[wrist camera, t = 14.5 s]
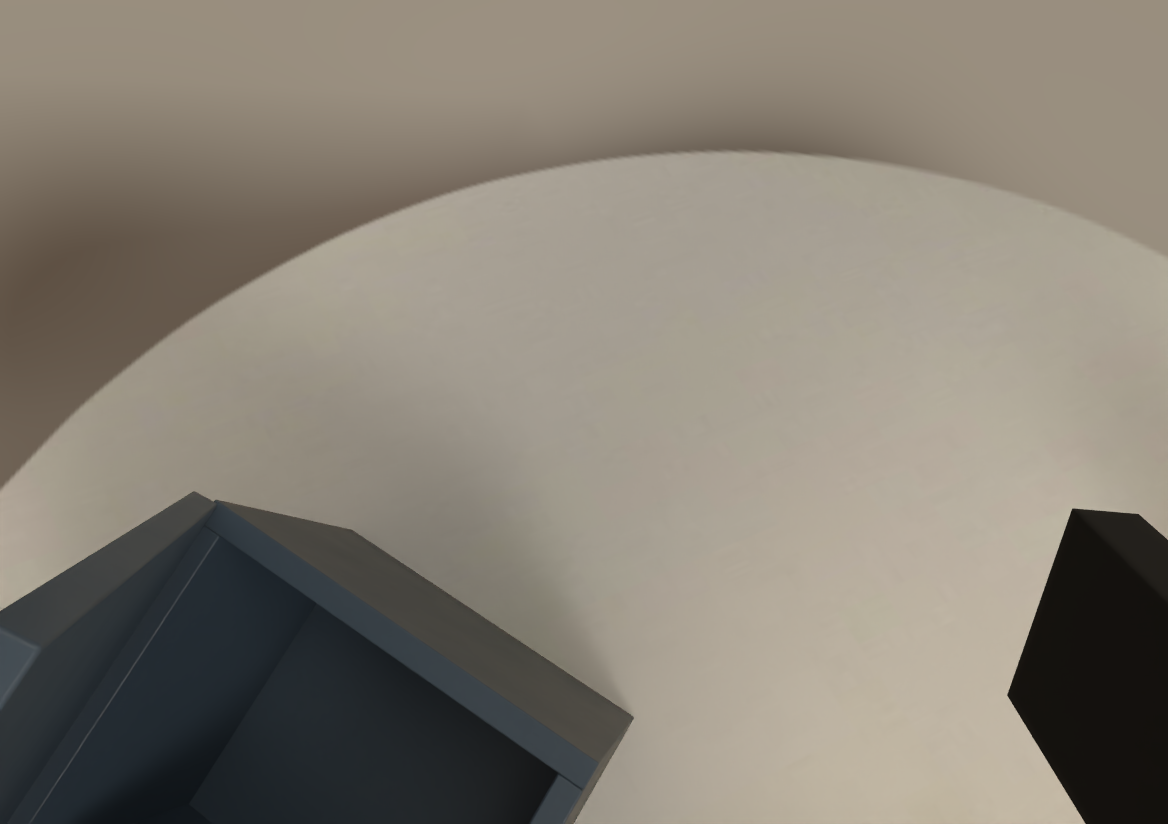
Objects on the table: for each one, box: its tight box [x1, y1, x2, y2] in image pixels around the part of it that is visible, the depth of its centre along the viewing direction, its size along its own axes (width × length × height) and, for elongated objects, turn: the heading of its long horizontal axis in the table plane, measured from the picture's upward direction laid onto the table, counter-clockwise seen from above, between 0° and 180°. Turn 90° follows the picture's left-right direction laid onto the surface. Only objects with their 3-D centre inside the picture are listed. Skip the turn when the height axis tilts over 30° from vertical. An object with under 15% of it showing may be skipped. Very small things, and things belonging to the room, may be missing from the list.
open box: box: [7, 500, 634, 824], centre depth 27 cm, size 14×13×10 cm
